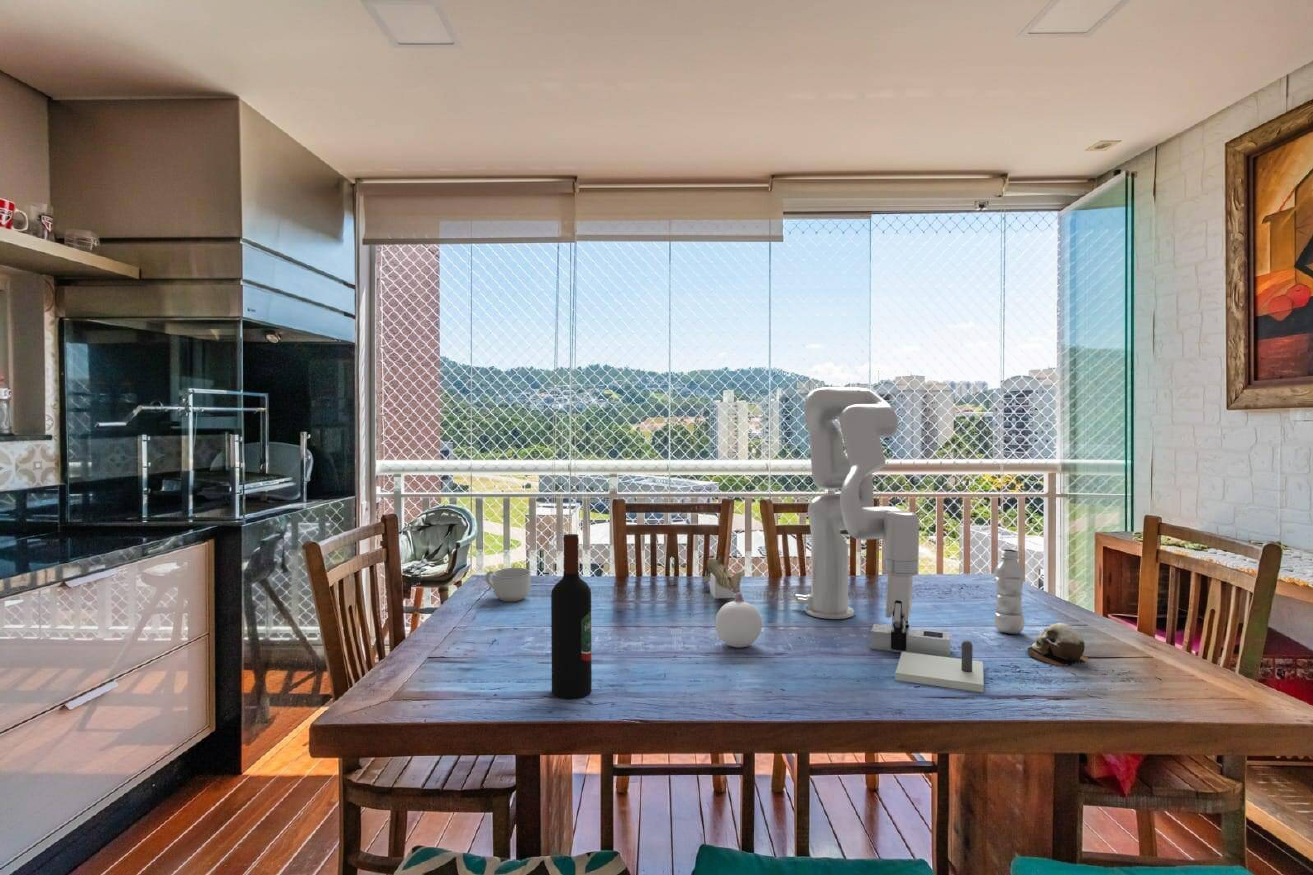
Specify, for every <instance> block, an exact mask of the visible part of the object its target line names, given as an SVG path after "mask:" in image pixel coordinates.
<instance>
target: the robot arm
mask: <svg viewBox="0 0 1313 875" xmlns="http://www.w3.org/2000/svg"><path fill="white" fill-rule="evenodd" d="M803 414H804V421H805V424H806V428H807V431H808V435H809V441H810V442H809V443H810V444H809V445H810V446H809V447H810V462H811V464H810V466H811V478H812V482H813V484H814V485H815V486H816V487H817V488H819V489H820V490H840V493H833V494H832V493H831V494H822V495H818V496H816V497H813V498H812V499H811V500H810V502H809V503H808V506H807V517H808V522H809V527H810V537H811V541H810V543H811V544H810V545H811V548H810V549H811V557H810V558H811V562H810V563H811V567H810V568H811V575H810V576H811V579H810V580H811V581H810V584H811V586H810V593H809V594H807V595H804V594H798V593H797V594H795V598H794V599H795V602H797V604H806V606H805V608H804V609H805V613H806V614H807V615H809V616H811V617H815V618H819V619H826V620H828V619H829V620H842V619H843V620H844V619H848V618H852V617H853V616H854V615H855V610H854V609H853V608H852V607H850V606H849V547H848V544H847V543H848V542H846V539H845V538H844V537H843V535H842V533H841V531H846V532H847V533H848V535H850V537H851V538H853V539H856V540H863V541H864V540H878V539H879V540H882V539H883V554H882V555H883V558H882V559H883V560H882V561H883V565H882V566H883V567H882V569H883V571H882V572H883V573H885V574H886V575H887V578H886V579H887V580H886V597H885V618H886V619H889V618H892V619H891V626H892V631H891V649H892V650H900V651H906V633H905V628H910V624H909V619H910V615H911V611H912V604H913V590H914V589H913V588H914V587H913V585H914V580H913V579H914V577H915V576H917V575H919V562H920V561H919V557H920V556H919V555H920V554H919V553H920V552H919V551H920V542H919V541H920V517H919V515H918V514H917V513H915V512H913V511H906V510H902V508H899V507H896V506H892V505H891V506H889V505H888V506H887V505H885V506H879V505H878V506H877V505H876V506H875V500H874V483H873V474H874V473H877V472H878V471H881V469H883V468H884V466H885V465H886V458H885V454H884V450H883V446H882V442H881V438H883V439H885V438H891V437H893V436H894V435H895V434H896V433H897V431H898V427H899V420H898V415H897V413H896V410H895V409H894V408H893V407H892V406H891V404H890V403H889V402H887V401H886V400H885V399H884V398H882V397H881V396H879V395H878V394H876V393H875V392H874V391H873V390H871V389H869V388H865V387H844V386H826V387H825V386H823V387H820V388H815V389H814V390H812V391H810V392H809V393H808V395H807V396H806V399H805V402H804V406H803ZM833 420H838V421H839V426H840V429H839V427H838V426H837V425H836V424H835V423H834V421H833ZM840 430H841V431H840ZM843 444H844V445H843ZM844 448H845V450H844ZM845 452H846V453H845ZM913 576H914V577H913Z"/></svg>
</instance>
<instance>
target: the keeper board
mask: <svg viewBox="0 0 1313 875" xmlns="http://www.w3.org/2000/svg"><path fill="white" fill-rule="evenodd" d="M894 680H895V681H900V682H906V683H915V684H919V685H920V684H921V685H929V686H934V687H935V686H937V687H941V688H950V689H956V690H957V689H958V690H963V691H970V692H971V691H972V692H979V693H984V686H985V685H984V661H980V660H974V659H973V643H972V642H971V641H970V640H964V641H962V643H961V658H956V657H950V658H949V657H941V656H933V655H925V654H917V653H909V652H902V653H901V652H900V657H899V660H898V663H897V666H896V669H895V678H894Z"/></svg>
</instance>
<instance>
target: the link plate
mask: <svg viewBox="0 0 1313 875" xmlns="http://www.w3.org/2000/svg"><path fill="white" fill-rule="evenodd" d="M891 631H892V625H886V624H877V623H874V624H873V625H872V628H871V630H870V649H871V650H876V651H877V650H878V651H886V652H887V651H888V652H895V653H900V654H901V653H902V652H909V653H917V654H925V655H933V656H941V657H949V658H951V632H949V631H942V630H930V629H921V628H913V627H909V628H905V633H906V651H900V650H892V649H891Z"/></svg>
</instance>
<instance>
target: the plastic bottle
mask: <svg viewBox="0 0 1313 875" xmlns="http://www.w3.org/2000/svg"><path fill="white" fill-rule="evenodd" d="M1000 553H1001V554H1000V559H1001V560H1000V561H999V562H998V563H997V565H996V566H995V568H994V570H993V571H994V572H993V573H994V580H995V581H994V582H995V585H996V587H995V589H996V604H995V606H996V607H995V612H994V616H993V623H994V627H995V629H996V630H997V631H999V632H1001V633H1005V634H1009V635H1010V634H1011V635H1012V634H1013V635H1015V634H1021V633H1023V631H1024V629H1025V617H1024V614H1023V613H1024V612H1023V604H1022V601H1023V600H1022V599H1023V586H1024V580H1025V571H1024V569H1023V566H1022V565H1021V564H1020V563H1019V562H1018V560H1019V559H1020V557H1019V551H1018V550H1016V549H1009V548H1006V549H1005V548H1003V549H1001V551H1000Z"/></svg>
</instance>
